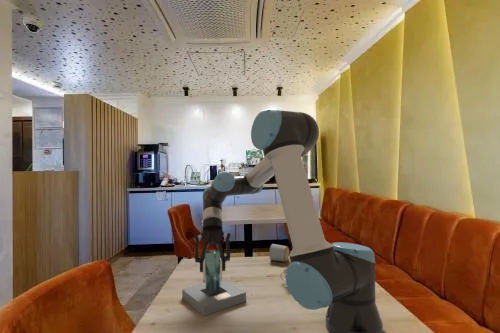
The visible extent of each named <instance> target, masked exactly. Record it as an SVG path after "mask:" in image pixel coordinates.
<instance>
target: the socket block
mask: <svg viewBox="0 0 500 333" xmlns="http://www.w3.org/2000/svg"><path fill="white" fill-rule="evenodd" d="M181 293H182V299H183V300H184V301H185V302H187V303H188V304H189V305H190V306H192V308H193V309H195V310H196V311H198V312H199V313H200V314H201V315H202V316H203V317H205V316H208V315H211V314H213V313H217V312H219V311H222V310H225V309H228V308H231V307H233V306H236V305H239V304H242V303H244V302H246V301H247V291H245V290H244V289H241V288H239V287H237V286H236V285H235V284H232V283H230V282H228V281H227V280H225V279H223V278H222V282H220V288H219V289H216V290H208V289H206V282H205V283H203V282H202V283H200V284H197V285H193V286H189V287H186V288H183V289H182V292H181Z"/></svg>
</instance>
